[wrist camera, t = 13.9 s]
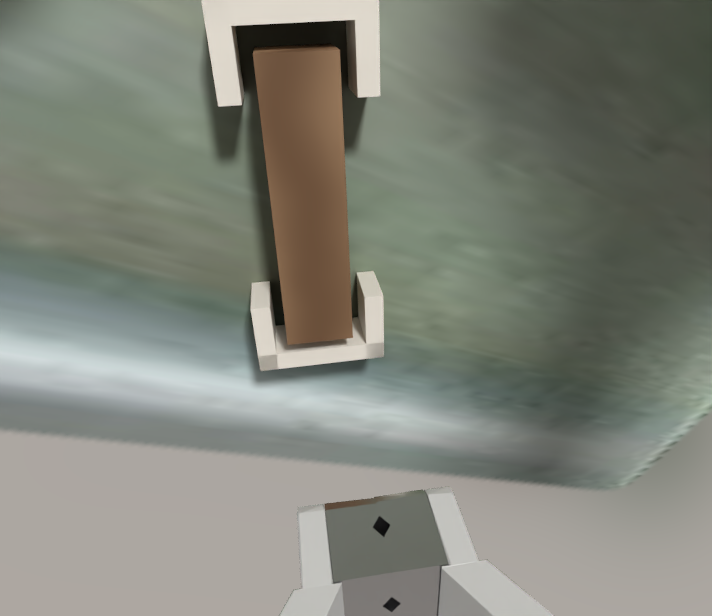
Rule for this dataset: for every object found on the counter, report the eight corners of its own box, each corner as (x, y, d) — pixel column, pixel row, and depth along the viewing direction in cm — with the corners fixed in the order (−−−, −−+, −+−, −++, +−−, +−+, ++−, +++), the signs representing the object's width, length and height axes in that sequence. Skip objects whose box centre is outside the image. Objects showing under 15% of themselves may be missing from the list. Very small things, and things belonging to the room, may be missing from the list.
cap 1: (366, -9, 24) (378, -10, 22) (369, 86, 26) (380, 96, 24) (208, -2, 23) (200, -2, 21) (223, 95, 25) (218, 106, 23)
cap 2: (260, 341, 32) (260, 371, 30) (251, 282, 30) (250, 309, 28) (374, 329, 33) (384, 356, 31) (373, 270, 31) (383, 295, 29)
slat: (329, 42, 25) (339, 49, 22) (343, 301, 32) (352, 337, 29) (254, 46, 25) (252, 54, 21) (285, 307, 32) (287, 344, 28)
